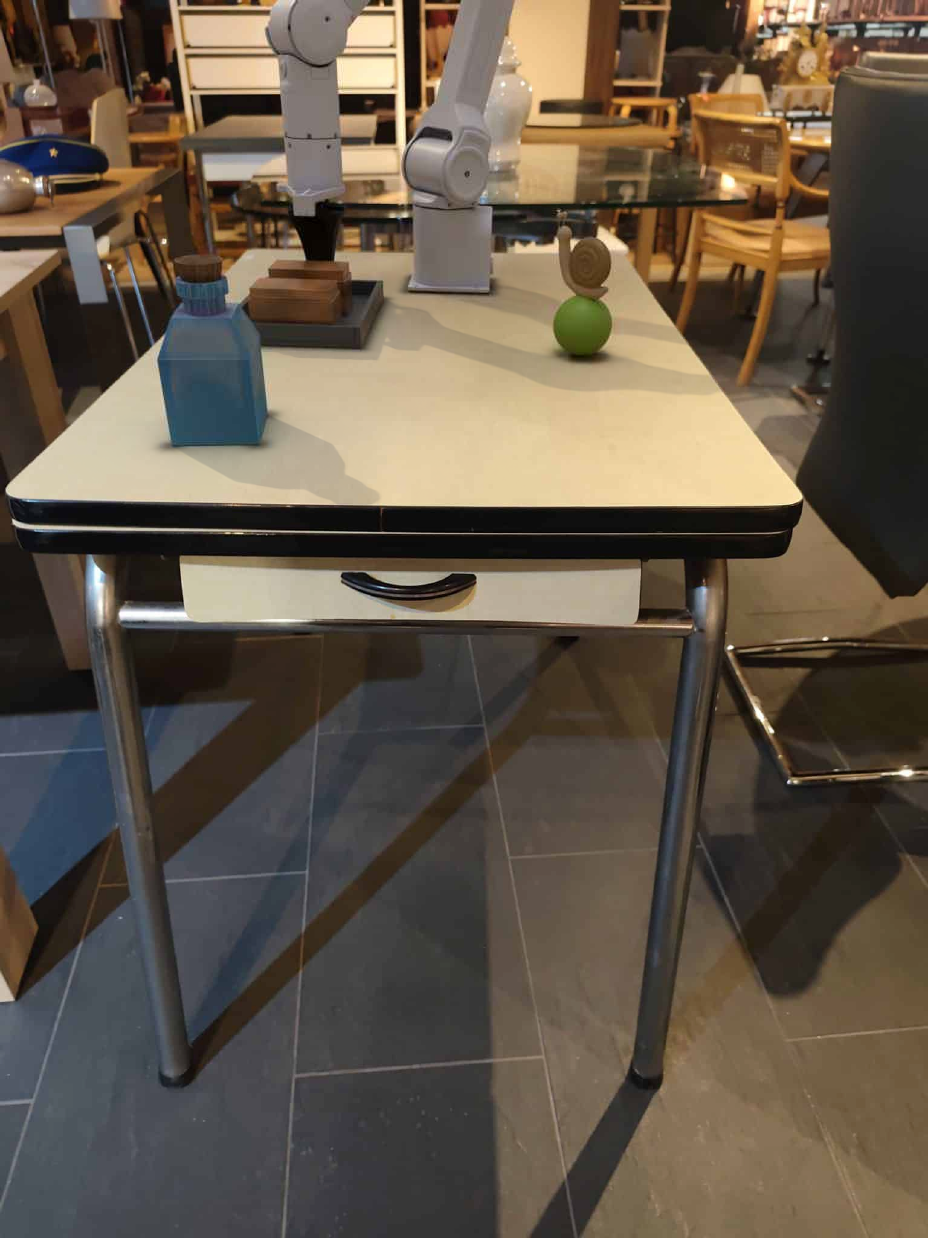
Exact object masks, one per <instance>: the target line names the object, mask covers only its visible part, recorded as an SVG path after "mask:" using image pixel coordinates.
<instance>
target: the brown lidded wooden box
mask: <svg viewBox="0 0 928 1238" xmlns="http://www.w3.org/2000/svg"><path fill="white" fill-rule="evenodd" d="M267 273H268V276H267V277H268V278H282V279H316V280H337V285H338V290H339V291H340V298H341V316H347V315H348V313H349V311H350V309H351V308H352V306H353V297H352V280H353V279H352V278H353V277H352V271H350V262H349V261H335V260H334V261H306V260H303V259H301V260H299V259H276V260H275V261H274V262H273V263H272V264H271V265H270V266H268V268H267Z"/></svg>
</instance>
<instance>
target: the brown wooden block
mask: <svg viewBox="0 0 928 1238" xmlns="http://www.w3.org/2000/svg"><path fill="white" fill-rule="evenodd" d="M248 289H249V290H248V291H249V294H250V298H249V299H248V305H249V314H250V320H251V322H257V323H289V324H322V325H342V316H341V298H340V291H339V290H338V285H337V280H316V279H282V278H266V277H259V278H258V279H256V280H255V282H254V283H253V284H252V285H251V286H250V287H249V288H248Z"/></svg>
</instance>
